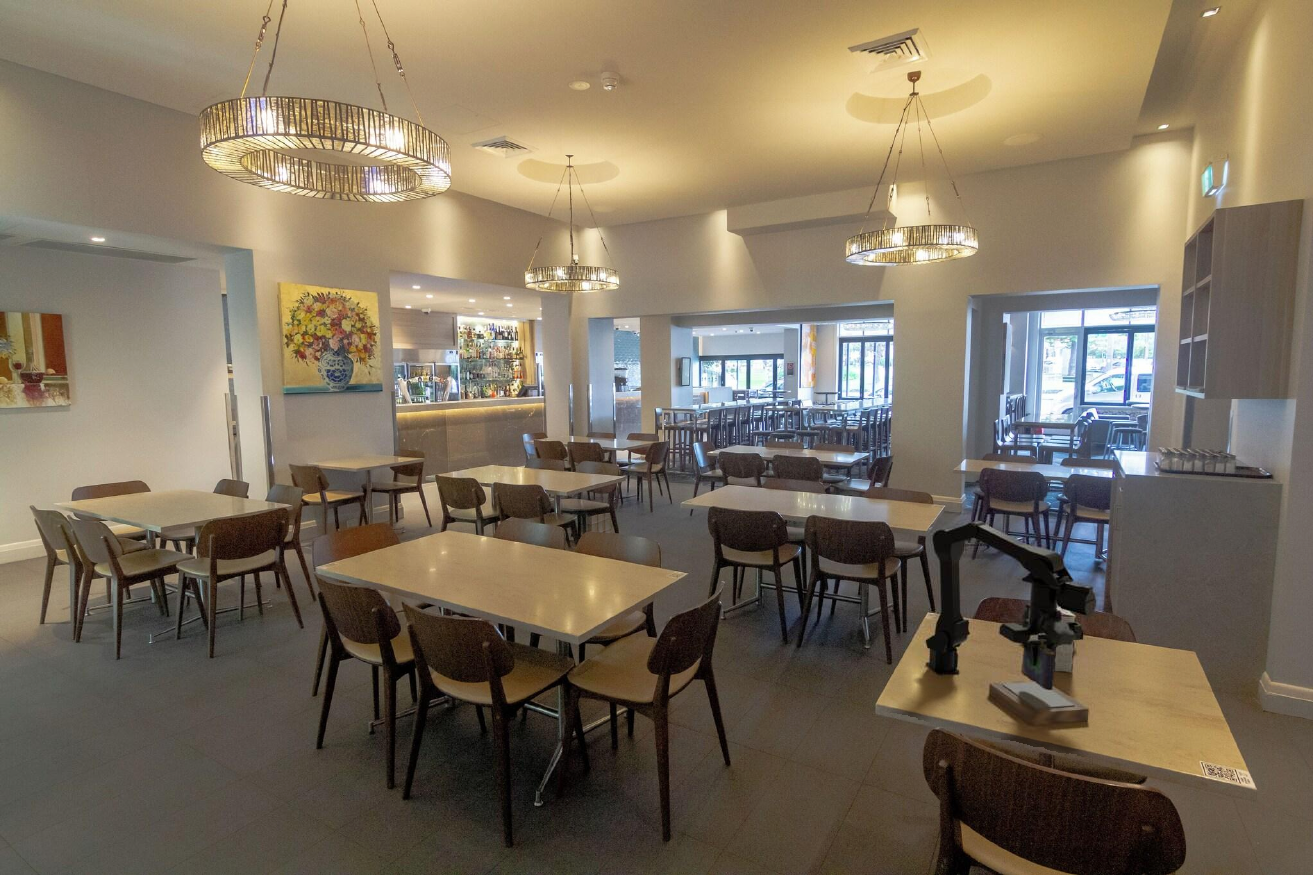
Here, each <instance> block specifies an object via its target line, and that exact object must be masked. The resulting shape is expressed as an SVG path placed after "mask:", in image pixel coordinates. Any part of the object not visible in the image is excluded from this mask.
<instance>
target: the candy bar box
mask: <svg viewBox="0 0 1313 875" xmlns="http://www.w3.org/2000/svg"><path fill="white" fill-rule="evenodd" d="M1057 610H1059V611H1061V614H1062V615H1061V617H1062V620H1063V621H1066V620H1067V621H1069V622H1077V615H1075V614H1074V612H1070V611H1067V610H1064V609H1061V607H1060V606H1058V605H1057ZM1074 652H1075V640H1073V642H1072V644H1071V645H1068V644H1063V645H1059V646H1058V647H1057V648H1056V649H1055V651H1054V653H1055V662H1054V672H1057V673H1059V672H1060V673H1071V674H1072V673H1073V669H1074V668H1073V665H1074V654H1075V653H1074Z"/></svg>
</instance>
